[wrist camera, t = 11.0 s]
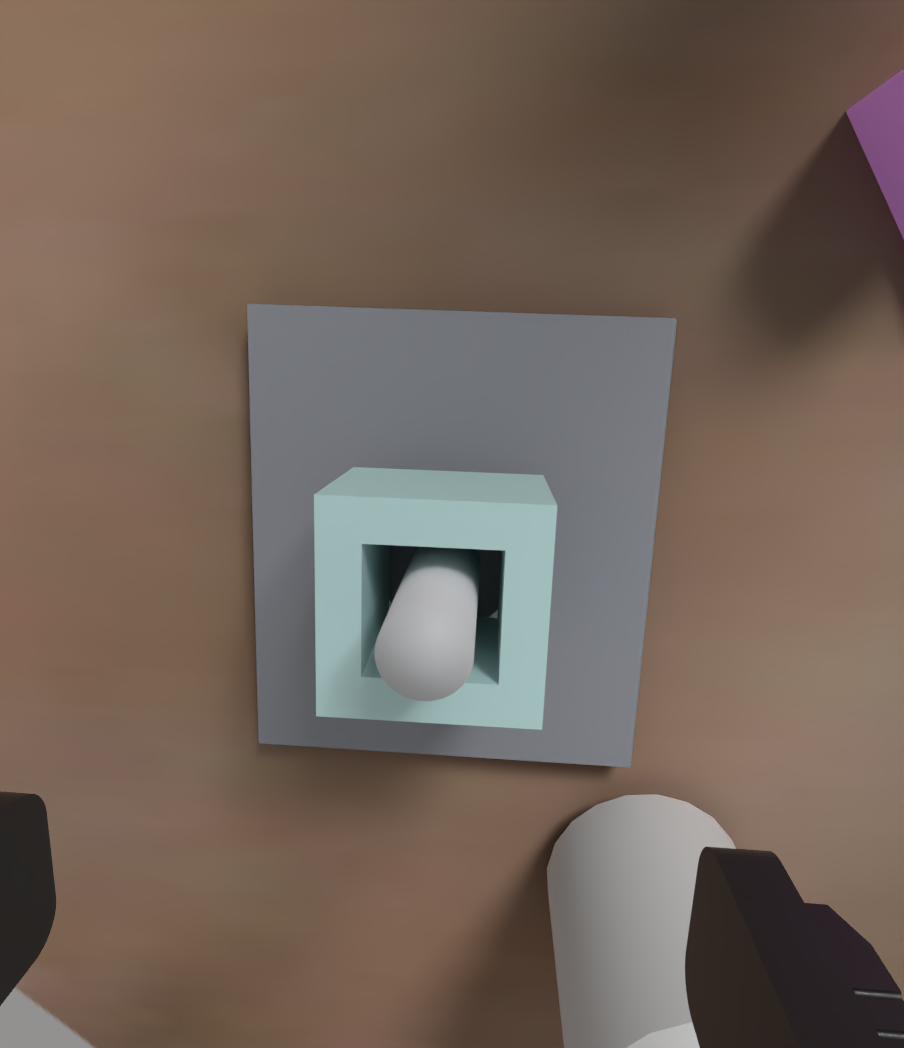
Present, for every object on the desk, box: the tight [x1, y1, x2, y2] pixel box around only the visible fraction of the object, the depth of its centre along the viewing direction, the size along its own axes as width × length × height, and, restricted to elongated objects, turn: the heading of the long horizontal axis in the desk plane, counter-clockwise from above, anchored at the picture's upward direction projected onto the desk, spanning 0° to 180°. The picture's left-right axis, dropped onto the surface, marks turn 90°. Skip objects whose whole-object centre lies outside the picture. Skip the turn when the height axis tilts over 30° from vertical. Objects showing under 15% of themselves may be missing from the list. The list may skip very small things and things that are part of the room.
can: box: [547, 794, 736, 1048], centre depth 22 cm, size 8×8×12 cm
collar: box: [314, 467, 557, 730], centre depth 20 cm, size 6×6×5 cm
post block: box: [247, 304, 677, 768], centre depth 20 cm, size 16×14×10 cm
